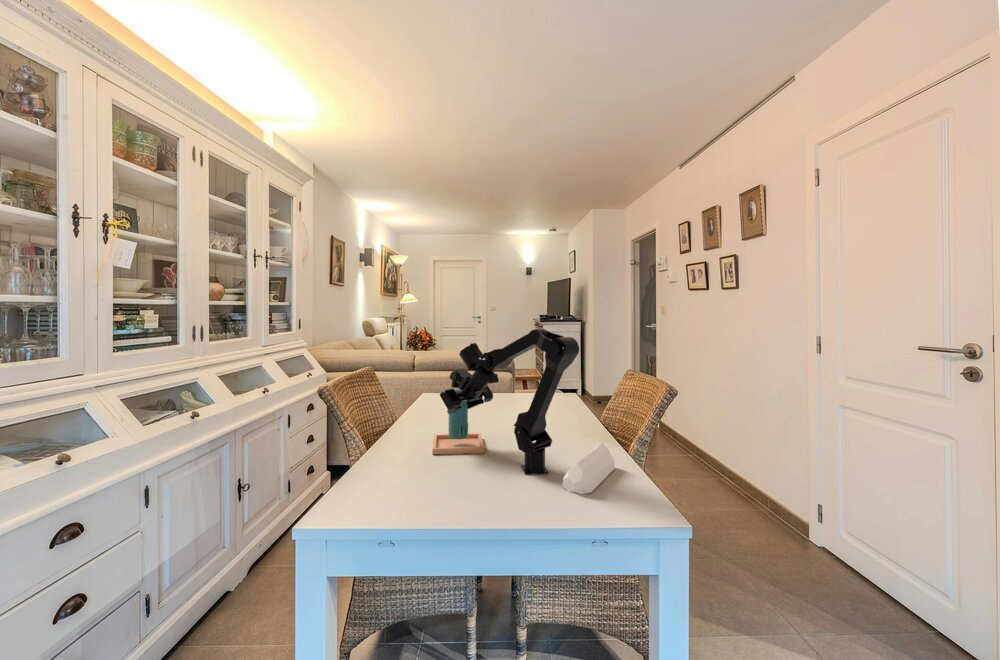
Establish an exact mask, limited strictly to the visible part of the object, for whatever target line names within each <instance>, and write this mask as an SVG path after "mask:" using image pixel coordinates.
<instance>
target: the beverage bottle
mask: <svg viewBox="0 0 1000 660" xmlns="http://www.w3.org/2000/svg"><path fill="white" fill-rule="evenodd" d="M458 386H459V384H458V383H456V382H453V381H452V380H451V388H452V389H454V390H455V392H456V393H457V394H460V391H461V390H459V388H458ZM457 388H458V389H457ZM460 406H461V408H460V409H458V410H456V411H455V412H453V413H451V414H448V424H447V425H448V426H447V427H448V433H447V434H449V437H450V438H451V439H465V438H467V437H468V434H469V417H468V413H469V411H468V410H469V409H468V402H467V401H462V403H461V405H460Z"/></svg>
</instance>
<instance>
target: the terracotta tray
mask: <svg viewBox="0 0 1000 660" xmlns="http://www.w3.org/2000/svg"><path fill="white" fill-rule="evenodd" d="M483 441H484V440H483V437H482V434H481V433H479V432H477V433H474V432H473V433H468V437H467V438H465V439H451V438H450V437H449V434H448V433H447V434H446V433H443V434H433V441H432V454H441V455H464V454H463V453H471V454H485V445H484V444H485V443H484V442H483Z"/></svg>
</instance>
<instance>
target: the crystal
mask: <svg viewBox="0 0 1000 660" xmlns="http://www.w3.org/2000/svg"><path fill="white" fill-rule="evenodd" d="M615 466H616V465H615V460H614V457H613V456H612V454H611V451H610V449H608V447H607V446H606V445H605V444H604V443H600V444H599V445H598V446H596V447H595V448H594V449H593V450H591V451H590V452H588V453H587V454H586V455H585V456H584V457H582V458H581V459H580V460H579V461H577V462H576V463H575V464H573V465H572V466H571V467H570V468H568V470H567V471H566V473H565V474H564V476H563V478H562V487H563V488H564V489H565V490H566V491H568V492H571V493H574V494H580V495H581V494H582V495H585V494H591V493H592V492H593V491H594V490H595V489H597V487H598V486H599V485H600V484H601V483H602V482H603V481H604V480H605V479H606V478H607V477H608V476H610V474H611V473H612V472H613V471H614V470H615V468H616V467H615Z"/></svg>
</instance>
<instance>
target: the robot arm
mask: <svg viewBox="0 0 1000 660" xmlns="http://www.w3.org/2000/svg"><path fill="white" fill-rule="evenodd" d="M536 347H537V348H539V350H541V351H542V352H543V353H545V354H544V359H545V368H544V371H543V373H542V375H541V378H540V380H539V383H538V385H537V388H536V390H535V393H534V395H533V397H532V401H531V402H530V406H529V408H528V410H527V411H524V412H520V413H518V415H517V418H516V421H515V423H514V424H513V426H514V430H513V433H514V435H515V439H516V444H517V448H518V450H519V451H522V453H524V458H523V459H524V463H523V464H521V469H522V470H523V472H524V475H543V474H544V475H545V474H547V475H548V474H549V470H548V468H547V466H546V449H547V448H550V447H552V443H553V439H552V438H551V436H550V434H549V433H548V432H547V430H546V428H547V421H546V420H547V419H546V415H547V413H548V411H549V407H550V405H551V402H552V400H553V397H554V396H555V393H556V391H557V388H558V386H559V383H560V381H561V378H562V376H563V374H564V372H565V371H566V369H568V368H569V367H570V366H571V365H572V363H573V362H574V361H575V359H576V358H577V356H578V354H579V353H580V352H579V351H580V346H579V344H578V342H577V339H575V338H574V337H571V336H563V335H560V334H558V333H554V332H551V331H549V330H547V329H545V328H534V329H531V330H530V331H529V332H528V333H526V334H524V335H523V336H521V337H519V338H517V339H516V340H514V341H512V342H510V343H509V344H507V345H505V346H504V347H501V348H500V347H499V348H496V349H492V350H488V351H484V353H483V352H482V351H481V350H480V348H479V345H478V344H477V343H476V342H475V343H473V342H472V343H470V344H469V345H468V346H466V347H464V348H463V349H461V350H460V351H459V357H460V358H461V360H462V361H463V363H464V365H465V367H466V368H467V369H468V370H471V371H474V372H473V373H472V374H471V373H470V372H469V371H467V369H462V368H461V369H460V368H459V369H455V370H452V372H450V374H449V380H451V382H452V381H453V382H456V383H458V384H459V386H458V390H461V391H460V394H457V393H456V392H455V390H456V389H455V388H447V389H442V391H441V392H440V394H439V396H440V398H441V401H442V402H443V404H444V406H445V407H446V409H447V411H446V412H447V414H448V415H449V414H451V413H453V412H455V411H456V410H458V409H460V408H461V406H460V405H461V403H462V401H467V402H468V410H470V409H472V408H475V407H478V406H479V405H482V404H483V405H484V403H489V402H491V401H492V400H493V399H494V393H493V392H492V390H491V388H490V387H489V384H491V385H492V384H497V383H499V377H498V373H496V372H495V371H500V370H501V371H502V370H504V369H506V368H507V367H509V366H510V365H511V364H512V361H514V359H516V358H517V357H519V356H522V355H523V354H526V353H527V352H529V351H531V350H533V349H534V348H536ZM483 397H484V398H483Z"/></svg>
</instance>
